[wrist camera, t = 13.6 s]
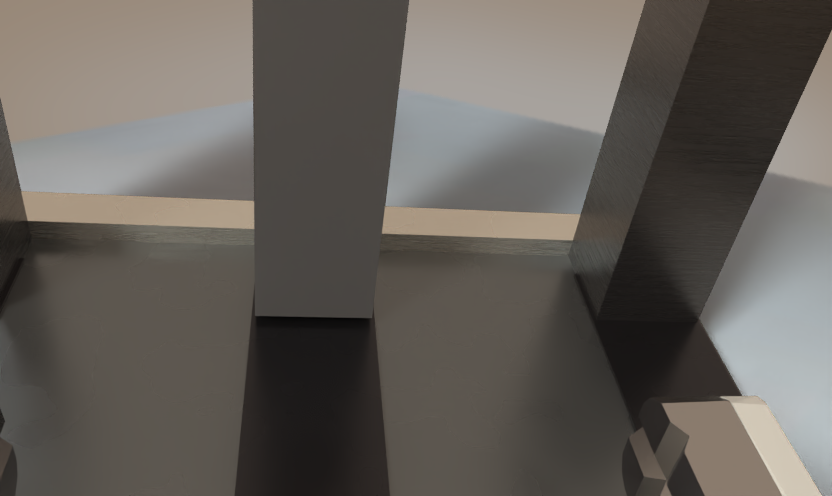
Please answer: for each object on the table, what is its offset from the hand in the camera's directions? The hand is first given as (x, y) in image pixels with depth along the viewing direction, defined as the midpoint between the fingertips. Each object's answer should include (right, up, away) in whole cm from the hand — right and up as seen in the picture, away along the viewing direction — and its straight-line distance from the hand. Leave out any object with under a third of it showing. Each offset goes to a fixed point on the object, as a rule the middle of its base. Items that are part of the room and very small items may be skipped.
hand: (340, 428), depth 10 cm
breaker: (-2, +1, +11) cm, 11 cm away
